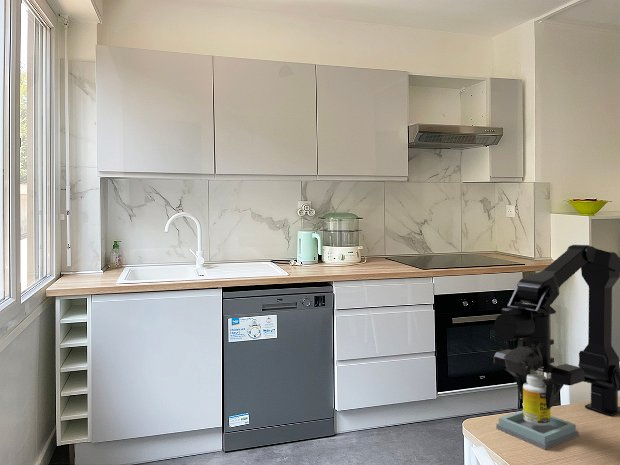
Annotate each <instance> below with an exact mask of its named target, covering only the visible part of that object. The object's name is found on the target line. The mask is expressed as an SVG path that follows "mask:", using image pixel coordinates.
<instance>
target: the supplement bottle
mask: <svg viewBox="0 0 620 465" xmlns="http://www.w3.org/2000/svg"><path fill="white" fill-rule="evenodd" d="M544 379H547V377H546V376H545V375H543V374H539V373H530V374H528V375H527V382H526V383H524V384H523V399H522V407H523V408H522V410H523V418H524V420H525V421H526V422H528V423H530V424H533V425H538V426H544V425H548V424H549V423H550V415H551V408H549V409H548V408H547V405H546V385H545V383H544V382H543V380H544Z"/></svg>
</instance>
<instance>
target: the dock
mask: <svg viewBox="0 0 620 465" xmlns="http://www.w3.org/2000/svg"><path fill="white" fill-rule="evenodd" d="M495 426H496V427H495V428H496V429H497V430H498V431H500V432H503V433H506V434H508V435H510V436H512V437H515V438H517V439H520V440H521V441H524V442H527V443H529V444H531V445H532V446H535V447H538V448H541V449H542V450H545V451H546V450H548V449H551V448H553V447H556V446H558V445H561V444H563V443H565V442H568V441H570V440H573V439H575V438H577V437H579V431H578V430H576V427H577V426H576V423H572V422H569V421H566V420H564V419H561V418H559V417H555V416H553V415H552V414H550V423H549V424H548V425H544V426H538V425H533V424H530V423H528V422H526V421H525V420H524V418H523V409H522V410H520V411H516V412H514V413H510V414H508V415H504V416H501V417H499V418H498V423H497V424H496V425H495Z"/></svg>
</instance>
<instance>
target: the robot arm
mask: <svg viewBox="0 0 620 465" xmlns="http://www.w3.org/2000/svg"><path fill="white" fill-rule="evenodd" d="M579 270H580V272H581V277H582V278H583V280H584V281H585V283H586V284H587V286H588V320H587V321H588V322H587V323H588V325H587V326H588V329H587V330H588V331H587V333H588V339H587V340H588V341H587V345H586V346H585V348H584V349H583V350H580V351H579V353H578V356H579V357H578V361H579V362H578V366H576V365H573V364H568V363H563V364H559V365H552V364H554V363H555V357H552V356H551V346H552V345H554V344H555V339H552V338H551V315H554V314H556V312H557V311H556V309H555V308H553V307H552V306H551V305H552V304H553V303H554V302H555V301H556V299H557V298H558V297H559V296H560V288H561V286H562V285H563V284H565V283H566V282H567V281H568V280H569V279H570V278H571V277H572V276H574V275H575V274H576V273H577V272H578V271H579ZM619 279H620V256H618V254H617V253H616V252H613V251H606V250H602V249H599V248H596V247H594V246H591V245H589V244H572V245H569V246H568V247H567V248H566V251H564V252H563V253H562V254H561V255H560V256H558V257H557V258H556V259H555V260H554V261H553V262H551V263H550V264H549V265H548V266H547V267H545V268H544V269H543V270H541V271H539V272H535V273H531V274H528V275H527V276H524V277H523V278H521V279H520V280H519V281H518V282H517V284H516V286H515V289H514V291H513V292H512V296H511V298H510V299H509V302H508V303H507V308H506V307H503V308H501V313H500V314H499V315H497V316H496V318H495V321H494V322H493V327H494V328H493V329H494V332H495V333H496V335H497V336H498V338H499V339H500V340H501V341H505V342H510V341H516V340H518V341H517V346H516V348H513V349H509V348H508V349H503V350H500V351H496V352H495V353H494V355H493V365H495V366H496V365H497V366H500V367H502V368H504V370H505V372H506V371H507V372H508V373H509V374H510V375H512V376H513V379H514V381H515V382H516V385H517V388H518V390H519V392H520V395H521V398H522V400H523V384H524V383H526V382H527V375H528V374H531V371H533V372H537V371H539V372H542V373H545V374H548V378H546V379H544V380H543V382H544V383H545V385H546V405H547V408H548V409H549V408H550V409H552V407H553V406H554V403H555V401H556V399H557V397H558V395H559V394H560V391H561V389H562V388H563V386H573V385H575V384H576V385H577V384H580V383H582V382H583V383H587V384H590V403H587V404H585V405H584V408H586V409H589V410H592V411H595V412H596V413H597V412H598V413H600V414H604V415H607V416H611V417H612V416H615V415H617V414H620V406H619V392H620V357H619V356H618V354H617V353H616V351H615V349H614V347H613V345H612V331H613V330H612V325H613V324H612V322H613V320H612V319H613V318H612V316H613V315H612V314H613V313H612V311H613V287H614V285H616V283H617V282H618V280H619Z"/></svg>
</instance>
